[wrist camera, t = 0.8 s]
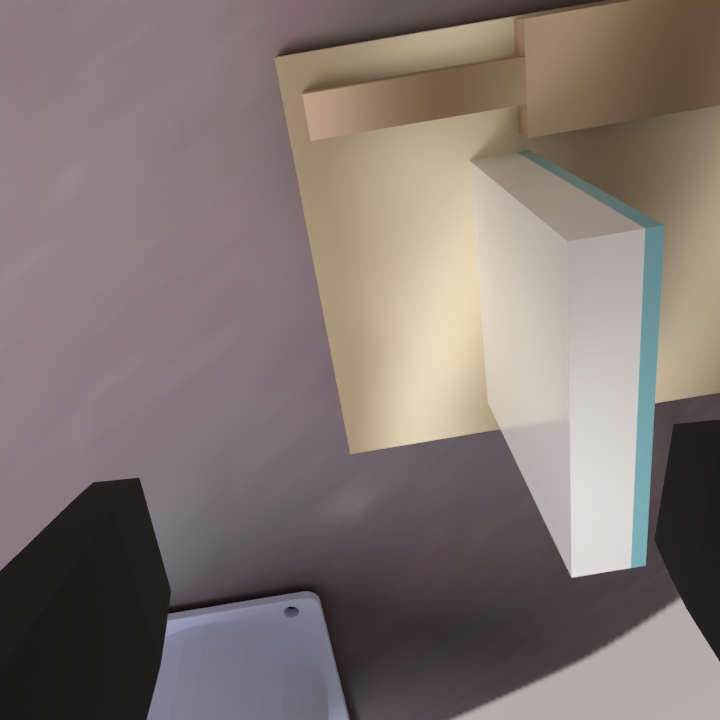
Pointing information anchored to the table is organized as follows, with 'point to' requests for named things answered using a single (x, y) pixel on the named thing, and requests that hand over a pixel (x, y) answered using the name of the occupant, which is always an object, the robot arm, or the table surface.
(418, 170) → the board
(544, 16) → the spatula
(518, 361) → the tile
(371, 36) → the table surface
